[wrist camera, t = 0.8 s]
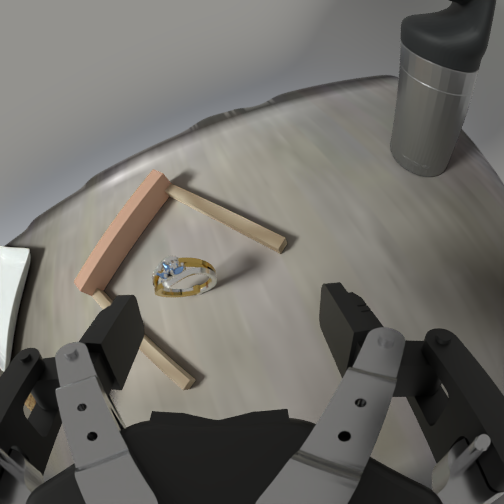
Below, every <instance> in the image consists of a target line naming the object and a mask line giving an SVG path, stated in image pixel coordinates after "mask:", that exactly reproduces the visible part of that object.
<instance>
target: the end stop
mask: <svg viewBox="0 0 504 504" xmlns="http://www.w3.org/2000/svg"><path fill="white" fill-rule="evenodd" d="M170 184H171V183H170V181H169V180H168V179H167V178H166V177H165V175H164V174H163V173H161V172H159V171H156V170H154V169H153V170H152V171H151V172H150V174H149V175H148V176H147V177H146V179H145V180H144V181H143V182H142V183H141V185H140V186H139V187H138V188H137V190H136V191H135V192H134V194H133V195H132V196H131V197H130V199H129V200H128V201H127V203H126V204H125V205H124V207H123V208H122V209H121V211H120V212H119V213H118V215H117V216H116V218H115V219H114V220H113V222H112V223H111V225H110V226H109V227H108V229H107V230H106V232H105V233H104V235H103V236H102V238H101V239H100V241H99V242H98V244H97V245H96V247H95V248H94V250H93V251H92V253H91V254H90V256H89V257H88V259H87V261H86V262H85V264H84V265H83V267H82V269H81V270H80V272H79V274H78V275H77V277H76V279H75V280H74V283H75V285H76V286H77V287H78V289H79V290H80V291H81V292H84V293H86V294H88V295H91V296H92V295H93V293H94V292H95V290H96V288H98V289H101V290H103V291H104V289H105V288H106V286H107V284H108V283H109V281H110V280H111V278H112V277H113V275H114V273H115V272H116V270H117V269H118V267H119V266H120V264H121V263H122V261H123V260H124V258H125V257H126V255H127V254H128V252H129V251H130V249H131V248H132V247H133V245H134V244H135V242H136V241H137V239H138V238H139V237H140V235H141V234H142V232H143V231H144V230H145V228H146V227H147V226H148V224H149V223H150V221H151V220H152V219H153V217H154V216H155V215H156V213H157V212H158V211H159V209H160V208H161V207H162V205H163V204H164V203H165V202H166V200H167V199H168V198H169V195H168V194H167V193H166V192H165V190H166V189H167V188H168V186H169V185H170Z"/></svg>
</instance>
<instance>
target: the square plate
mask: <svg viewBox="0 0 504 504" xmlns="http://www.w3.org/2000/svg"><path fill="white" fill-rule="evenodd" d="M30 261H31V255H30V249H29V248H15V247H5V246H0V369H1V370H2V371H5V370H6V368H7V367H8V365H9V363H10V359H11V352H12V345H13V338H14V332H15V326H16V320H17V315H18V311H19V306H20V301H21V297H22V293H23V289H24V286H25V281H26V278H27V274H28V270H29V266H30Z"/></svg>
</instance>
